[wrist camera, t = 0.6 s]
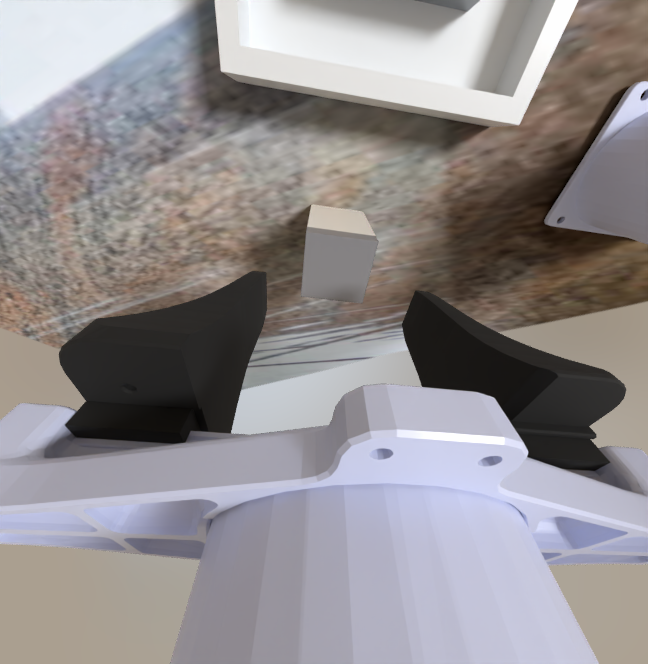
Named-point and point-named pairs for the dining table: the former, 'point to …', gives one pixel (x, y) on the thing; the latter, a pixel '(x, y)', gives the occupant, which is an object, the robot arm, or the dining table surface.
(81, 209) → the dining table surface
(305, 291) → the connector plug
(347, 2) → the inlet box
